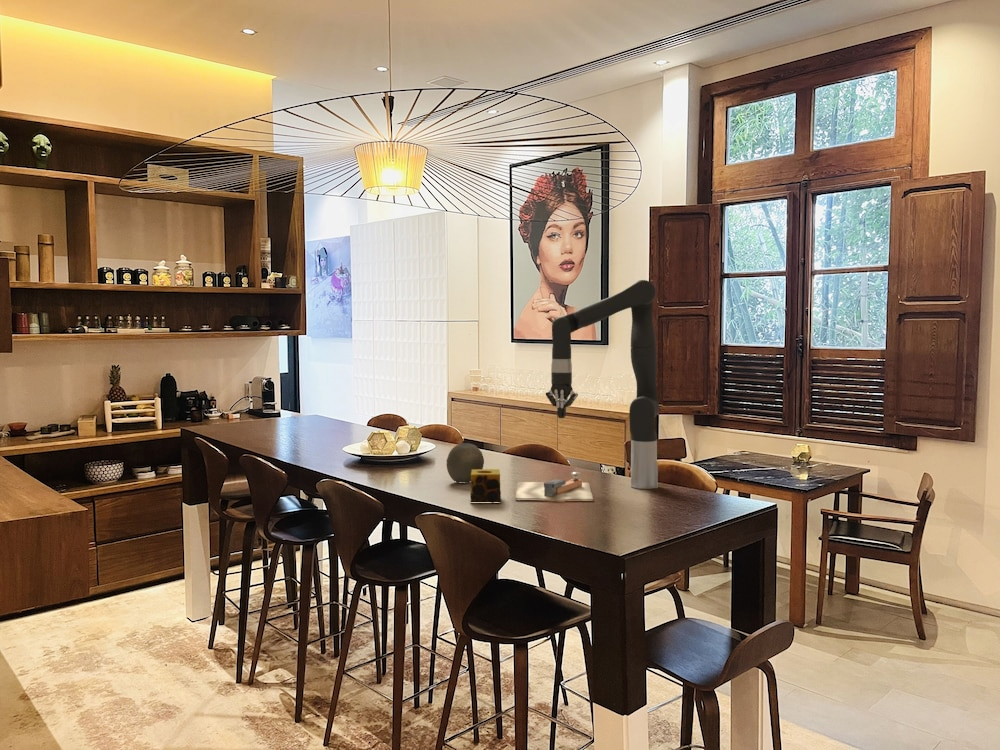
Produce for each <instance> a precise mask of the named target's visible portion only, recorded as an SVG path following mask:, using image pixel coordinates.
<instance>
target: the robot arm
mask: <svg viewBox="0 0 1000 750" xmlns="http://www.w3.org/2000/svg"><path fill="white" fill-rule="evenodd" d="M656 291H657V290H656V287H655V285H654V284H653V283H652V282H651V281H649V280H646V279H640V280H637V281H635V282H634V283H633V284H631V285H630V286H628V287H627V288H625V289H624V290H622V291H620V292H618V293H616V294H614V295H612V296H609V297H607V298H604V299H601V300H599V301H596V302H593V303H589V304H588V305H585V306H582V307H581V308H578V309H577V310H575V311H574V312H571V313H567V314H566V315H562V316H559V317H557V318H555V319H554V320H553V321H552V324H551V339H552V347H551V350H552V351H551V365H550V366H551V370H550V372H551V374H550V375H551V379H550V380H551V381H550V382H551V387H550V390H549V391H548V392H545V396H546V398H547V399H548V400H549V402H550V403H551V405H552V407H555V408H557V410H556V411H557V415H556V416H557V418H558V419H565V417H566V416H567V408H569V407H571V405H572V404H573V403H574V402H575V400H576V399H577V397H578V396H579V394H578V392H577V393H576V392H575V391H574V390H573V389H574V388H573V387H572V386H573V385H572V384H573V383H572V382H573V364H572V363H573V362H572V345H571V337H572V333H573V332H575V331H578V330H579V329H582V328H586V327H589V326H592V325H594V324H596V323H598V322H601V321H603V320H605V319H607V318H609V317H612V316H613V315H616V314H617V313H620V312H622V311H625V310H628V309H631V328H630V329H631V330H630V360H631V361H630V362H631V367H632V369H633V373H634V376H635V380H636V396H635V399H633V400H632V401H631V403H630V406H629V412H628V413H629V415H628V416H629V417H628V418H629V420H628V421H629V433H630V446H631V448H630V487H632V488H634V489H640V490H641V489H642V490H648V489H649V490H650V489H651V490H652V489H658V487H659V485H658V482H659V481H658V480H659V479H658V477H659V474H658V472H659V465H658V464H659V462H658V461H657V460H658V459H657V455H658V447H657V446H658V434H657V431H656V427H655V426H656V425H655V424H656V423H655V420H656V419H655V418H656V417H657V416H658V414H659V412H660V403H659V397H658V396H659V395H658V389H657V355H658V354H657V339H656V332H655V328H654V323H653V322H654V321H653V305H654V304H653V303H654V300H655V298H656Z"/></svg>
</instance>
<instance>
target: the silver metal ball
mask: <svg viewBox="0 0 1000 750" xmlns="http://www.w3.org/2000/svg"><path fill="white" fill-rule="evenodd" d="M570 475H572V479H573V480H579V479H580V478H579V477H580V475H582V474H581V472H579V471H572V472H570Z"/></svg>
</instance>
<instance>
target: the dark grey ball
mask: <svg viewBox="0 0 1000 750" xmlns="http://www.w3.org/2000/svg"><path fill="white" fill-rule="evenodd" d="M484 463H485V459H484V455H483V452H482V451H481V449H480V448H479V447H478V446H477V445H476V444H473V443H468V442H467V443H466V442H465V443H464V442H463V443H459V444H457V445H455V446H454V447H453V448H451V449H450V450H449V453H448V455H447V459H446V470H447V473H448V475H449V477H450V478H451V480H452V481H454V482H455V481H456V483H457V482H468V483H470V482H469V481H471V470H475V469H484Z"/></svg>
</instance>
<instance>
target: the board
mask: <svg viewBox="0 0 1000 750" xmlns="http://www.w3.org/2000/svg"><path fill="white" fill-rule="evenodd" d="M544 482H545V481H540V482H539V481H535V482H534V481H518V482H517V488H516V493H515V500H516V499H550V500H582V501H593V502H594V496H593V493H592V490H591V485H590V483H589V482H582V486H581V487H576V488H573V489H570V490H567V491H564V492H561V493H558V494H557V493H556V496H554V497H547V496H544Z"/></svg>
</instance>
